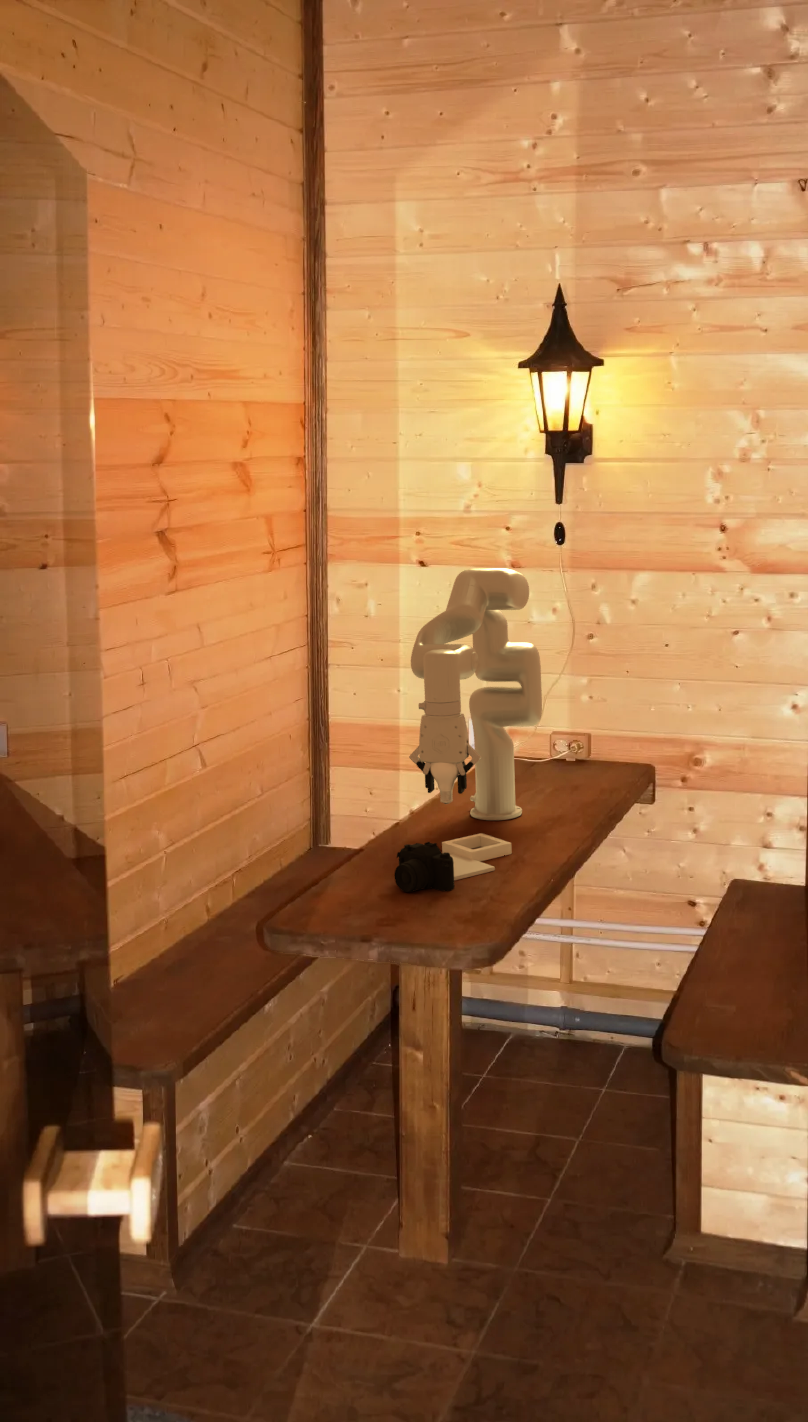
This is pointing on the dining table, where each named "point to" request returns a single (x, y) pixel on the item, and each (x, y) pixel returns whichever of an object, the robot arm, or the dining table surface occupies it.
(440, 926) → the dining table surface
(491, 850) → the socket collar
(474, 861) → the felt mat
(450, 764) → the lightbulb
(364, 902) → the dining table surface
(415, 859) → the film camera
